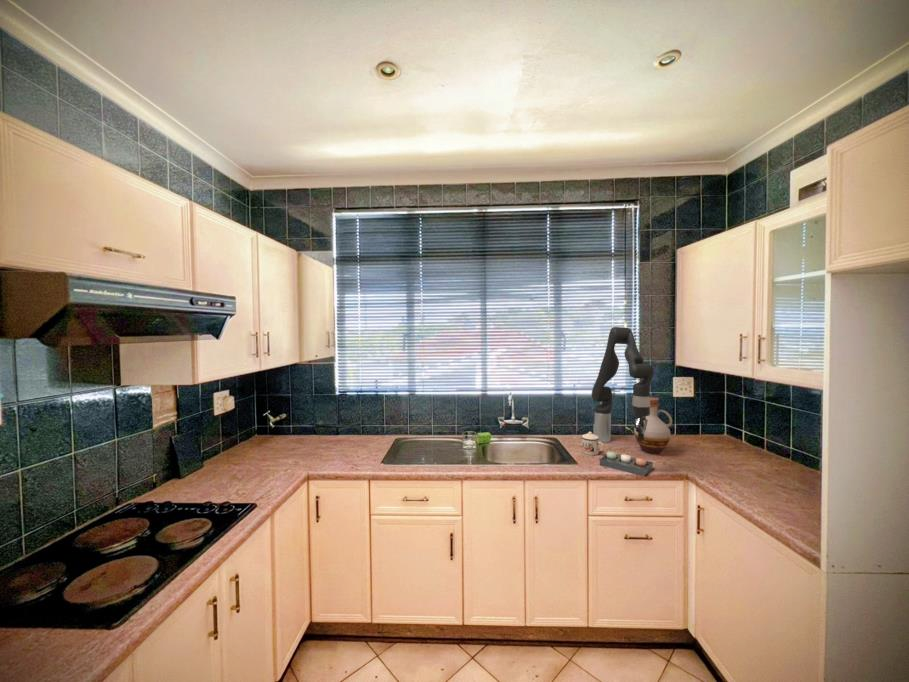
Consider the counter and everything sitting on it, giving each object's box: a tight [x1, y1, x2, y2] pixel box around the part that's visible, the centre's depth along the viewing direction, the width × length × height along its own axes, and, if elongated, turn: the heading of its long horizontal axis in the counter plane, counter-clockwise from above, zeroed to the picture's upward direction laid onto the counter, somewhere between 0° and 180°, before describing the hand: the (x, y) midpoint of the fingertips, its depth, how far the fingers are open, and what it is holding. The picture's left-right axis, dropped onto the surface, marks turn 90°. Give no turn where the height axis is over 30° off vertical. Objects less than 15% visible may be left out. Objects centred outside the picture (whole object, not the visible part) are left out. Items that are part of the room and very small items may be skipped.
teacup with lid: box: [581, 431, 605, 456], centre depth 199 cm, size 12×9×12 cm
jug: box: [633, 397, 673, 455], centre depth 200 cm, size 20×18×30 cm
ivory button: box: [620, 453, 632, 464], centre depth 179 cm, size 4×4×4 cm
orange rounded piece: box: [635, 457, 647, 467], centre depth 174 cm, size 4×4×4 cm
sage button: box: [606, 450, 617, 460], centre depth 184 cm, size 4×4×4 cm
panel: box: [599, 453, 654, 477], centre depth 179 cm, size 21×13×3 cm, turn 46°
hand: (641, 440), depth 174 cm, fingers closed
